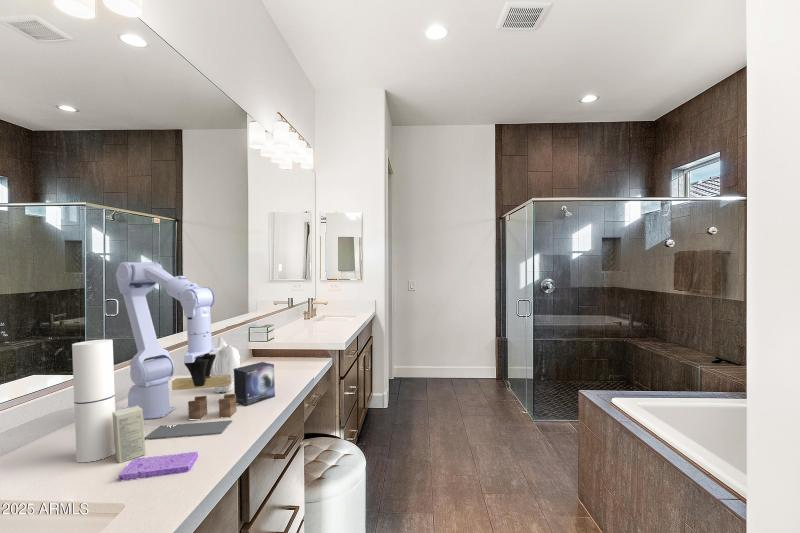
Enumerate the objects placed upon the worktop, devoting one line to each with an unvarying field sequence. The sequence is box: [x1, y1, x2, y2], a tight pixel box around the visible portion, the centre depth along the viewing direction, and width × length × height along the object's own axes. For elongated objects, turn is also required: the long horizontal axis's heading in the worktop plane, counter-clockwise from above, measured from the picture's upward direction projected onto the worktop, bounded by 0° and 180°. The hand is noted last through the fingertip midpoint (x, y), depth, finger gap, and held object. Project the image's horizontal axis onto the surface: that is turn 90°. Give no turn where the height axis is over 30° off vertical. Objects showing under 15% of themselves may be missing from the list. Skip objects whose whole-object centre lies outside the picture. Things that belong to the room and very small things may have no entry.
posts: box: [187, 393, 238, 420], centre depth 111 cm, size 11×5×5 cm, turn 94°
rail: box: [171, 375, 231, 391], centre depth 107 cm, size 14×3×2 cm, turn 95°
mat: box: [144, 420, 233, 441], centre depth 101 cm, size 18×8×1 cm, turn 94°
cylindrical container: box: [71, 338, 116, 463], centre depth 89 cm, size 7×7×25 cm
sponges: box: [118, 451, 199, 482], centre depth 81 cm, size 7×13×2 cm, turn 102°
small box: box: [233, 361, 276, 407], centre depth 124 cm, size 11×6×10 cm, turn 145°
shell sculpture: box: [209, 336, 241, 394], centre depth 135 cm, size 8×8×18 cm
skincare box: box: [112, 406, 147, 464], centre depth 88 cm, size 5×4×10 cm
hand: (201, 384), depth 107 cm, fingers closed on rail, 3 cm apart
